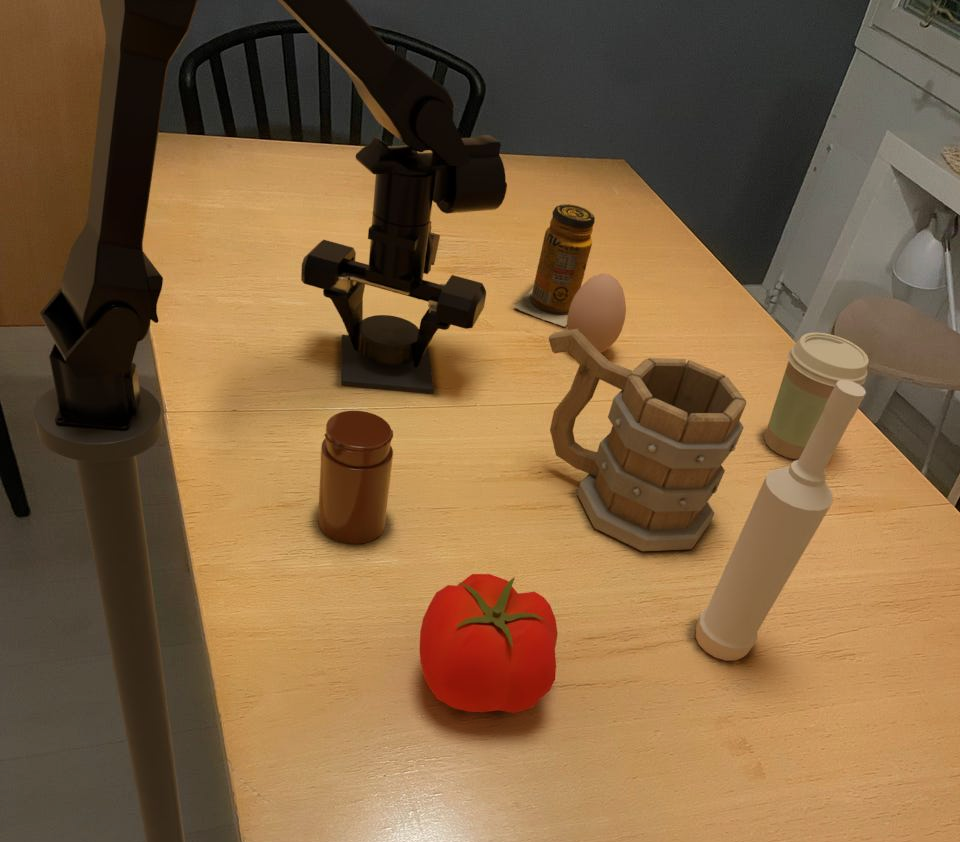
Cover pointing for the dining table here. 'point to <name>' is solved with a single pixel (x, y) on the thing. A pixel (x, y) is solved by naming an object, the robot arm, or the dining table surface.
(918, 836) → the dining table surface
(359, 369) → the rubber mat
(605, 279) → the egg
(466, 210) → the robot arm
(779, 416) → the coffee cup
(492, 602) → the tomato
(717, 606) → the bottle
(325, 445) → the jam jar
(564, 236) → the condiment
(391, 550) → the dining table surface
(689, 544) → the tankard
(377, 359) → the jar lid
